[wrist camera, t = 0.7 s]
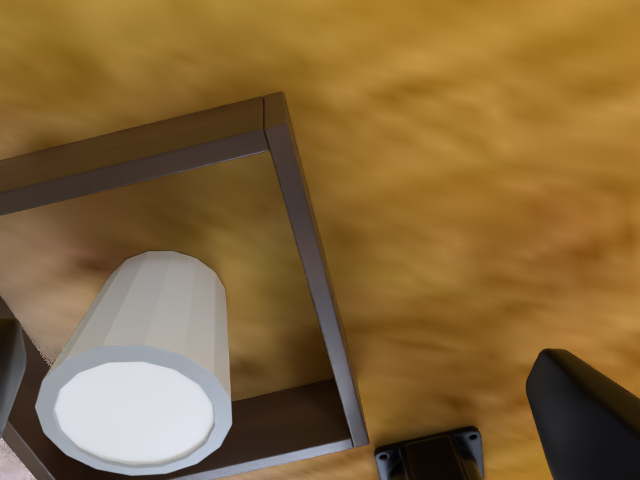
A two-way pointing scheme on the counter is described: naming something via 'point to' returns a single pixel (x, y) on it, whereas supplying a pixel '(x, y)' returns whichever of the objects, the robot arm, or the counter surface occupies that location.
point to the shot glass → (144, 370)
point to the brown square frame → (277, 135)
